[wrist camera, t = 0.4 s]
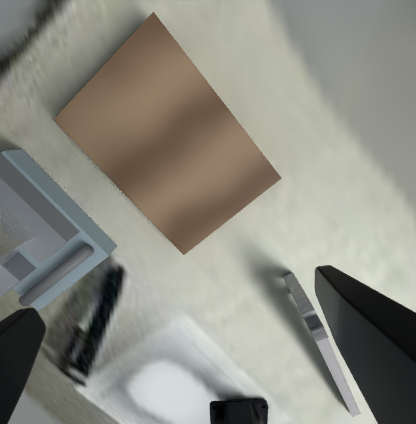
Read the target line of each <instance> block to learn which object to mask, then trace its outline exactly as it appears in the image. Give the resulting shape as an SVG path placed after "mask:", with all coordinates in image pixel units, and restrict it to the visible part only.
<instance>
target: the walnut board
mask: <svg viewBox="0 0 416 424" xmlns="http://www.w3.org/2000/svg"><path fill="white" fill-rule="evenodd" d="M53 120H54V121H55V122H56V123H57V124H58V125H59V126H60V128H61V129H62V130H63V131H64V132H65V133H66V134H67V135H68V136H69V137H70V138H71V139H72V140H73V141H74V142H75V143H76V144H77V145H78V146H79V147H80V148H81V149H82V150H83V151H84V152H85V153H86V154H87V155H88V157H89V158H90V159H91V160H92V161H93V162H94V163H95V164H96V165H97V166H98V167H99V168H100V169H101V170H102V171H103V172H104V173H105V174H106V175H107V176H108V177H109V178H110V179H111V180H112V181H113V182H114V183H115V184H116V185H117V187H118V188H119V189H120V190H121V191H122V192H123V193H124V194H125V195H126V196H127V197H128V198H129V199H130V200H131V201H132V202H133V203H134V204H135V205H136V206H137V207H138V208H139V209H140V210H141V211H142V212H143V213H144V214H145V215H146V217H147V218H148V219H149V220H150V221H151V222H152V223H153V224H154V225H155V226H156V227H157V228H158V229H159V230H160V231H161V232H162V233H163V234H164V235H165V236H166V237H167V238H168V239H169V240H170V241H171V242H172V243H173V244H174V245H175V247H176V248H177V249H178V250H179V251H180V252H181V253H182V254H183V255H185V254H186V253H187V252H188V251H190V250H191V249H192V248H194V247H195V246H196V245H197V244H199V243H200V242H201V241H202V240H204V239H205V238H206V237H207V236H209V235H210V234H211V233H213V232H214V231H215V230H216V229H218V228H219V227H220V226H221V225H223V224H224V223H225V222H227V221H228V220H229V219H230V218H232V217H233V216H234V215H235V214H237V213H238V212H239V211H241V210H242V209H243V208H244V207H246V206H247V205H248V204H249V203H251V202H252V201H253V200H254V199H256V198H257V197H258V196H260V195H261V194H262V193H263V192H265V191H266V190H267V189H268V188H270V187H271V186H272V185H274V184H275V183H276V182H277V181H279V180H280V179H281V177H280V176H279V174H278V173H277V172H276V170H275V169H274V168H273V166H272V165H271V164H270V163H269V161H268V160H267V159H266V157H265V156H264V155H263V153H262V152H261V151H260V150H259V148H258V147H257V146H256V144H255V143H254V142H253V141H252V139H251V138H250V137H249V135H248V134H247V133H246V131H245V130H244V129H243V128H242V126H241V125H240V124H239V122H238V121H237V120H236V118H235V117H234V116H233V115H232V113H231V112H230V111H229V109H228V108H227V107H226V105H225V104H224V103H223V102H222V100H221V99H220V98H219V96H218V95H217V94H216V92H215V91H214V90H213V89H212V87H211V86H210V85H209V83H208V82H207V81H206V79H205V78H204V77H203V76H202V74H201V73H200V72H199V70H198V69H197V68H196V66H195V65H194V64H193V63H192V61H191V60H190V59H189V57H188V56H187V55H186V53H185V52H184V51H183V50H182V48H181V47H180V46H179V44H178V43H177V42H176V41H175V39H174V38H173V37H172V35H171V34H170V33H169V31H168V30H167V29H166V28H165V26H164V25H163V24H162V22H161V21H160V20H159V18H158V17H157V16H156V15H155V13H154V12H153V13H152V14H151V15H150V16H149V17H148V18H147V19H146V20H145V21H144V22H143V24H142V25H141V26H140V27H139V28H138V29H137V30H136V31H135V32H134V33H133V34H132V35H131V36H130V38H129V39H128V40H127V41H126V42H125V43H124V44H123V45H122V46H121V47H120V48H119V49H118V50H117V52H116V53H115V54H114V55H113V56H112V57H111V58H110V59H109V60H108V61H107V62H106V63H105V64H104V66H103V67H102V68H101V69H100V70H99V71H98V72H97V73H96V74H95V75H94V76H93V77H92V78H91V80H90V81H89V82H88V83H87V84H86V85H85V86H84V87H83V88H82V89H81V90H80V91H79V92H78V94H77V95H76V96H75V97H74V98H73V99H72V100H71V101H70V102H69V103H68V104H67V105H66V106H65V108H64V109H63V110H62V111H61V112H60V113H59V114H58V115H57V116H56V117H55V118H54V119H53Z"/></svg>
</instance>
